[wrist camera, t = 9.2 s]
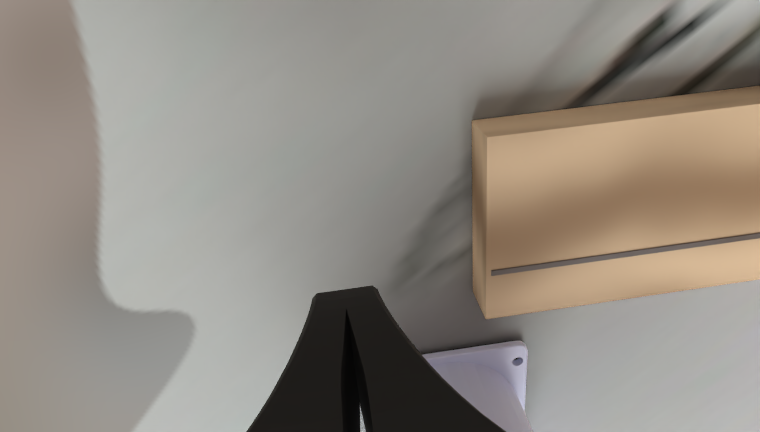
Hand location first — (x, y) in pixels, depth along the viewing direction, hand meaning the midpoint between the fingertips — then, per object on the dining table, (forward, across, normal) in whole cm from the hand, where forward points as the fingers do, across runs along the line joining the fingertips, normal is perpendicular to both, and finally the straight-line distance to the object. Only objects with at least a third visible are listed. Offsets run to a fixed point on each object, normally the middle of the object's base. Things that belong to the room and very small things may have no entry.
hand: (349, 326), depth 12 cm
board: (+10, -16, +3) cm, 19 cm away
